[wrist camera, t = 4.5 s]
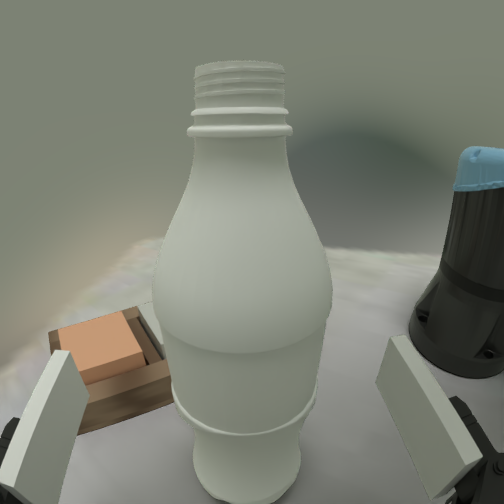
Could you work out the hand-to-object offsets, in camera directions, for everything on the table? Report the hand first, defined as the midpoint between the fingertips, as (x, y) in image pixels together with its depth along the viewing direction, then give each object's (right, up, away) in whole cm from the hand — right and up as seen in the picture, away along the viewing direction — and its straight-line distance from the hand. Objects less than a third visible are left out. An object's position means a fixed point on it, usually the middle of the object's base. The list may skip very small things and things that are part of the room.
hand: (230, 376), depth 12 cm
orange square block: (-14, -6, +16) cm, 22 cm away
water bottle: (0, -12, +8) cm, 14 cm away
